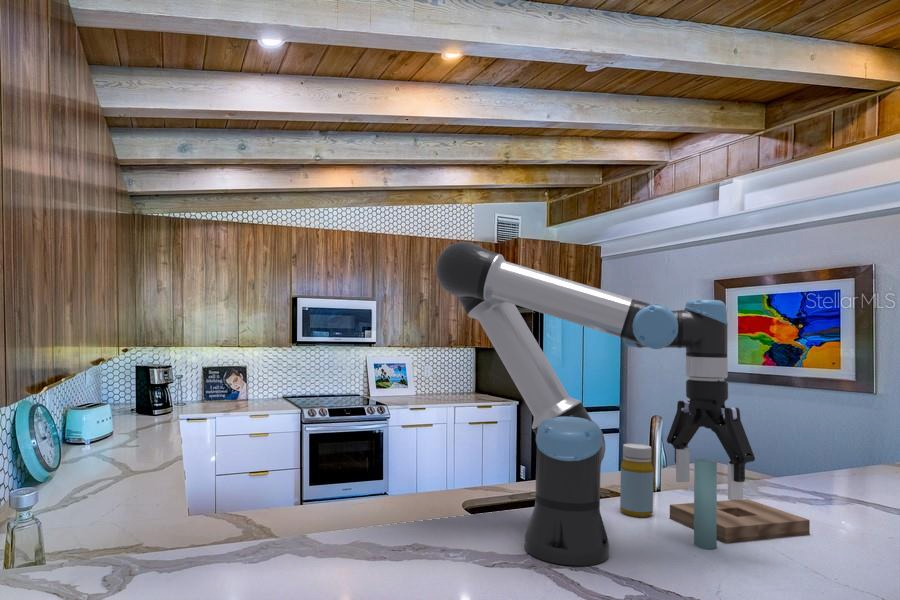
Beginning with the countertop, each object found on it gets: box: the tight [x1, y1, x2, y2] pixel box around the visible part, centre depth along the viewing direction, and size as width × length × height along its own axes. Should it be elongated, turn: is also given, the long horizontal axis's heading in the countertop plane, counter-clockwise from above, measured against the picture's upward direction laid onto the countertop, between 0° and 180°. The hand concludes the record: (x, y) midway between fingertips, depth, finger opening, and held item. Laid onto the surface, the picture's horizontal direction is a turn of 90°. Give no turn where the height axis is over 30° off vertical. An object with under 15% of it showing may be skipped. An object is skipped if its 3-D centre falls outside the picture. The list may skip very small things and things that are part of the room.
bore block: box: [669, 498, 811, 544], centre depth 126 cm, size 22×16×3 cm
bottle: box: [619, 443, 654, 518], centre depth 133 cm, size 7×7×15 cm
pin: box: [693, 458, 718, 550], centre depth 113 cm, size 4×4×16 cm
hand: (707, 490), depth 113 cm, fingers open, 13 cm apart
